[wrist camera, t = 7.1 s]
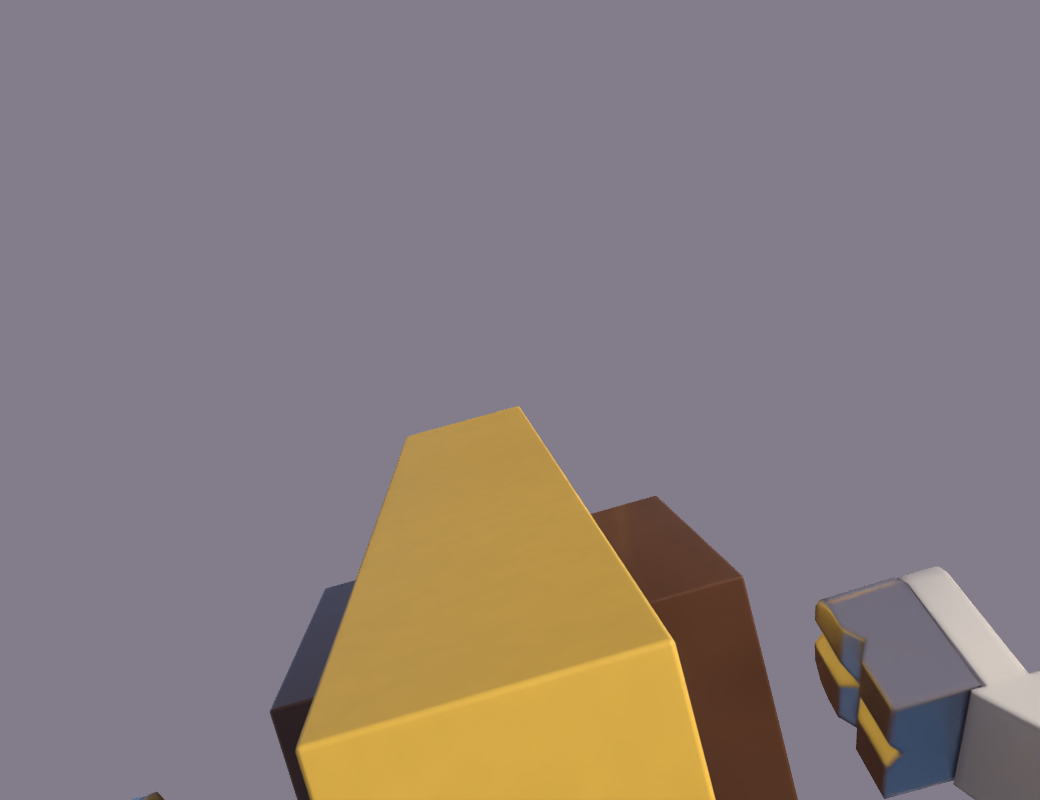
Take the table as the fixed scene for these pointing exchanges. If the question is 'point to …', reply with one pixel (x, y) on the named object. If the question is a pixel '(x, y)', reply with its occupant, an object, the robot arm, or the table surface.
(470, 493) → the cheese bar
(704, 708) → the stand
